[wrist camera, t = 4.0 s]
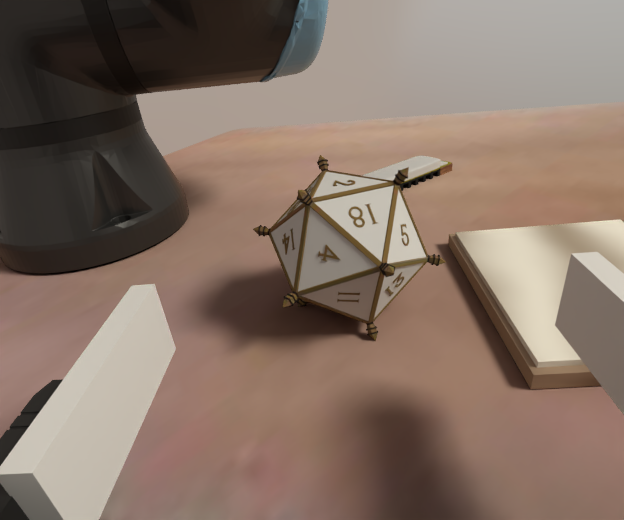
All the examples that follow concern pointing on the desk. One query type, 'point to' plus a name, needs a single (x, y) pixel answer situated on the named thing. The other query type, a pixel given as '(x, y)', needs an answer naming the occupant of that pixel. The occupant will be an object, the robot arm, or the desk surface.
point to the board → (534, 290)
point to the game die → (349, 244)
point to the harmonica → (414, 170)
